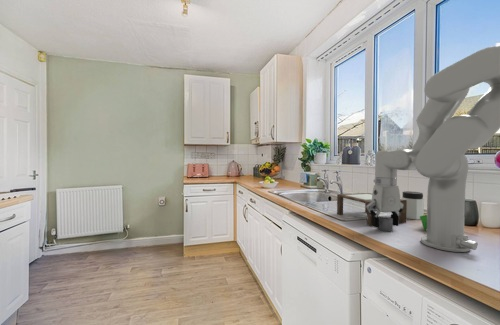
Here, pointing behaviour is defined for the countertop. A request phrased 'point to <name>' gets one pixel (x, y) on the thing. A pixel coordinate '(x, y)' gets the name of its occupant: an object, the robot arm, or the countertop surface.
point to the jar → (414, 204)
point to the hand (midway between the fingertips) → (385, 225)
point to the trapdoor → (362, 196)
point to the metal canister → (385, 224)
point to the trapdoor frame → (369, 218)
